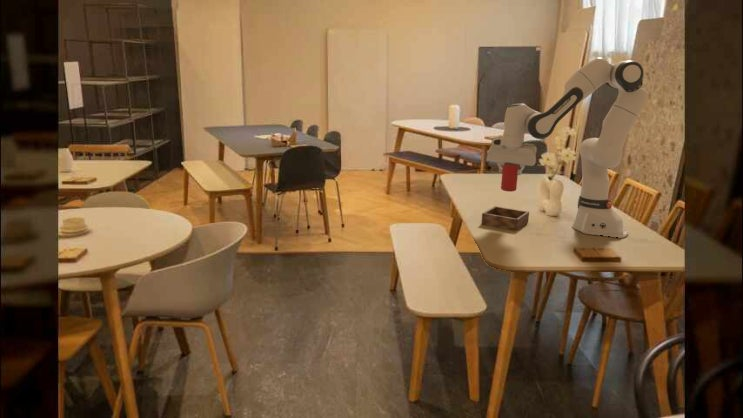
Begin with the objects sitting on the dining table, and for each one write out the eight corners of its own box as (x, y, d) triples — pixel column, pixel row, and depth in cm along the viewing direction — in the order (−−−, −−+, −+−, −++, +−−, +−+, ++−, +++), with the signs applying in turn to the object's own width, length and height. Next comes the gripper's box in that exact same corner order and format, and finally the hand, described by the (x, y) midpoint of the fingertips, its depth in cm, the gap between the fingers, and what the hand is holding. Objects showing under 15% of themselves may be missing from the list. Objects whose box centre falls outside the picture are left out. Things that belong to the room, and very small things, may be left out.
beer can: (516, 192, 246) (519, 164, 243) (501, 191, 247) (503, 163, 244) (515, 189, 252) (518, 162, 249) (500, 188, 253) (502, 161, 250)
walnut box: (528, 222, 256) (529, 211, 255) (517, 230, 242) (518, 219, 241) (493, 216, 264) (494, 206, 262) (481, 224, 250) (482, 213, 249)
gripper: (539, 143, 241) (535, 175, 245) (492, 138, 251) (490, 169, 255) (535, 145, 236) (531, 177, 240) (488, 140, 246) (485, 171, 250)
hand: (510, 173), depth 247 cm, fingers closed on beer can, 7 cm apart
